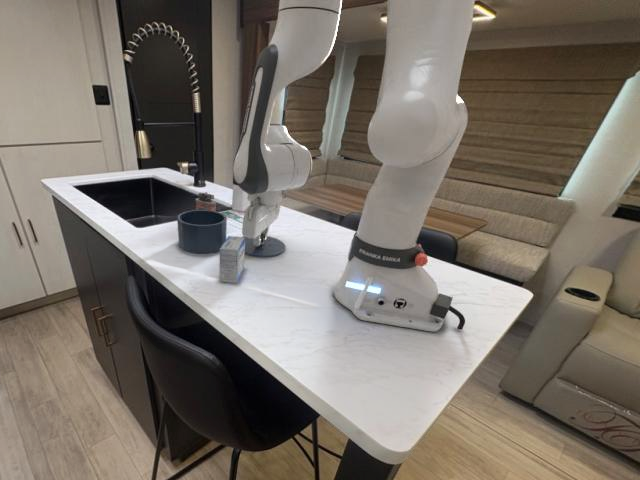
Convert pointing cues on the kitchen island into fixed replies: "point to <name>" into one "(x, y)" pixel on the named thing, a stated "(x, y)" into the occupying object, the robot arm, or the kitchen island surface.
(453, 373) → the kitchen island surface
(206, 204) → the lighter
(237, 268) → the medicine box
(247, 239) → the pot lid
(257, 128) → the robot arm
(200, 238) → the pot
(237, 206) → the jar
